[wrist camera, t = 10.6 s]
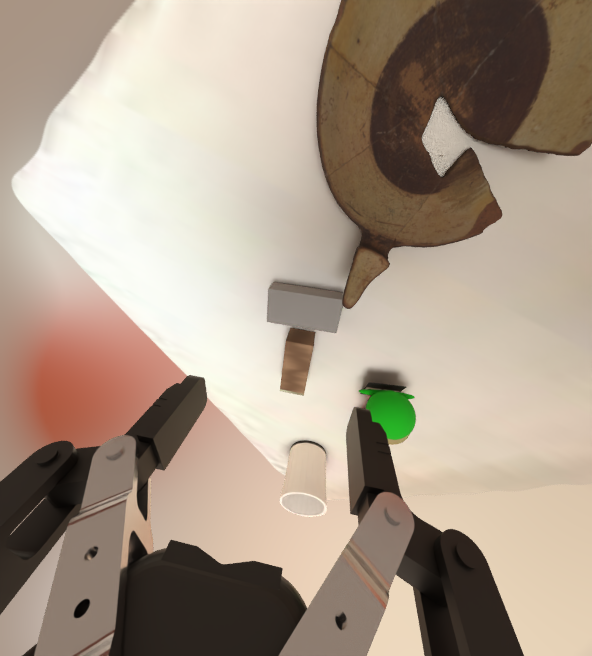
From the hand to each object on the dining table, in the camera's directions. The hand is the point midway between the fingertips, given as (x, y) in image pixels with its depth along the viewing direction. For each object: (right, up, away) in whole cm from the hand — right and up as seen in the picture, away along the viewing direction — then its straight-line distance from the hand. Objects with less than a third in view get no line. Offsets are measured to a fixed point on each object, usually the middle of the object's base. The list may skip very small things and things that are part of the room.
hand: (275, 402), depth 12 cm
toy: (+16, -9, +28) cm, 34 cm away
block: (+2, +3, +21) cm, 22 cm away
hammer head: (+3, +8, +21) cm, 22 cm away
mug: (+5, -25, +39) cm, 46 cm away
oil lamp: (+13, +23, +11) cm, 29 cm away
